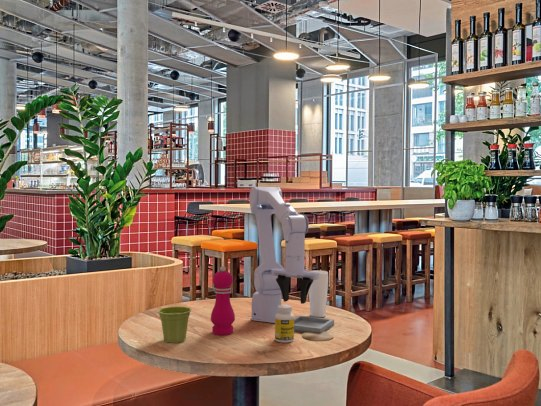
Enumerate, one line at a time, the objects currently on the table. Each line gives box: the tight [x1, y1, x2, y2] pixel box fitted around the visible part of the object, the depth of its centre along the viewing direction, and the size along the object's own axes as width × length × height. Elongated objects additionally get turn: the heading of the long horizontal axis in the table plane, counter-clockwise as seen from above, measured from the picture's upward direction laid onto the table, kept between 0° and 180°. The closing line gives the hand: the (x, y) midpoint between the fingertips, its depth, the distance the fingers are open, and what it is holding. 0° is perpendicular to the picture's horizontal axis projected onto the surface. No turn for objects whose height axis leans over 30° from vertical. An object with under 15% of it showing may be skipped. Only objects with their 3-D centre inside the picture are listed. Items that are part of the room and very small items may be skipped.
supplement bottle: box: [274, 304, 295, 344], centre depth 150 cm, size 5×5×10 cm
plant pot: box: [157, 306, 192, 344], centre depth 150 cm, size 9×9×9 cm
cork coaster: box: [302, 331, 334, 342], centre depth 154 cm, size 9×9×1 cm
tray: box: [294, 314, 335, 333], centre depth 164 cm, size 12×12×2 cm
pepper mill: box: [210, 265, 236, 336], centre depth 158 cm, size 7×7×20 cm
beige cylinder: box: [308, 269, 329, 318], centre depth 179 cm, size 7×7×15 cm
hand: (294, 302), depth 156 cm, fingers open, 5 cm apart
